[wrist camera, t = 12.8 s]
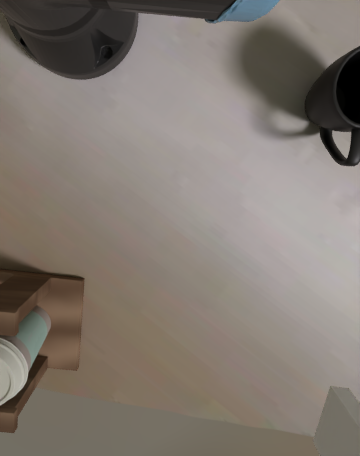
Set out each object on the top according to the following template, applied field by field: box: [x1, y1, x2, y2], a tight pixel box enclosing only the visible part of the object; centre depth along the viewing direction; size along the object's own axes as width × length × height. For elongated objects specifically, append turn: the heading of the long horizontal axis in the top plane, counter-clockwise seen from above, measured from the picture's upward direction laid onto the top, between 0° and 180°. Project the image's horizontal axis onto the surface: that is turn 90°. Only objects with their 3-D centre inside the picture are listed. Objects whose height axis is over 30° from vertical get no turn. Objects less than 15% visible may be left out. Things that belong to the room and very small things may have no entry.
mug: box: [305, 46, 360, 166], centre depth 35 cm, size 8×12×10 cm
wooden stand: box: [0, 269, 84, 433], centre depth 39 cm, size 16×14×12 cm
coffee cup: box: [0, 306, 51, 405], centre depth 38 cm, size 8×8×12 cm
